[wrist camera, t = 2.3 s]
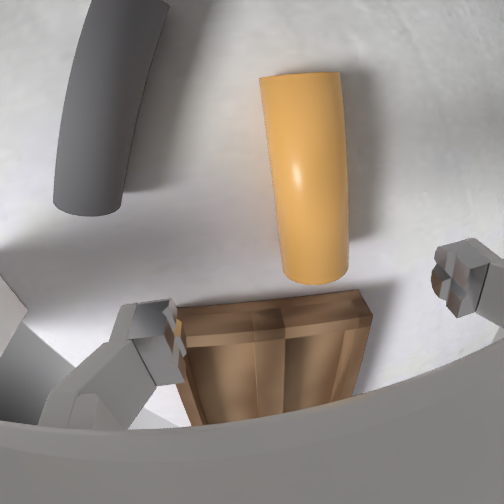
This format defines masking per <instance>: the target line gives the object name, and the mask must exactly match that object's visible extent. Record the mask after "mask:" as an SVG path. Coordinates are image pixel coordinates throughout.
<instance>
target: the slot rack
mask: <svg viewBox="0 0 504 504" xmlns="http://www.w3.org/2000/svg"><path fill="white" fill-rule="evenodd" d="M372 318H373V314H372V313H371V311H370V309H369V307H368V306H367V304H366V302H365V300H364V299H363V297H362V295H361V294H360V292H359V290H351V291H344V292H336V293H328V294H320V295H311V296H302V297H293V298H284V299H275V300H265V301H255V302H244V303H233V304H222V305H210V306H197V307H183V308H177V319H178V320H179V321H181V322H182V324H183V327H184V331H185V335H186V342H187V353H186V355H185V356H184V357H183V359H184V361H185V363H186V374H185V383H178V384H176V386H177V389H178V392H179V395H180V397H181V400H182V402H183V405H184V408H185V410H186V413H187V415H188V418H189V420H190V423H191V425H192V426H200V425H210V424H219V423H226V422H234V421H241V420H247V419H254V418H260V417H266V416H271V415H277V414H282V413H287V412H292V411H296V410H301V409H306V408H310V407H314V406H319V405H323V404H327V403H331V402H335V401H338V400H342V399H346V398H350V397H351V396H352V393H353V390H354V386H355V383H356V379H357V376H358V373H359V369H360V365H361V362H362V358H363V354H364V351H365V347H366V343H367V339H368V335H369V331H370V326H371V322H372Z"/></svg>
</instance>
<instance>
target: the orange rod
mask: <svg viewBox="0 0 504 504" xmlns="http://www.w3.org/2000/svg"><path fill="white" fill-rule="evenodd" d="M259 83H260V90H261V97H262V104H263V111H264V118H265V126H266V133H267V141H268V148H269V156H270V164H271V172H272V180H273V188H274V196H275V205H276V213H277V222H278V231H279V240H280V249H281V258H282V267H283V272H284V274H285V275H286V276H287V277H288V278H289V279H291V280H293V281H295V282H297V283H301V284H306V285H322V284H327V283H331V282H333V281H336V280H338V279H339V278H341V277H342V276H343V275H344V274H345V273H346V272H347V270H348V260H349V198H348V167H347V147H346V131H345V117H344V105H343V94H342V84H341V75H340V72H316V73H300V74H288V75H278V76H270V77H262V78H259Z"/></svg>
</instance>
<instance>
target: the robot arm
mask: <svg viewBox="0 0 504 504" xmlns="http://www.w3.org/2000/svg"><path fill="white" fill-rule="evenodd" d="M434 259H435V261H436V263H437V264H436V266H435V267H434V269H433V270H432V276H431V283H432V288H433V290H434V292H435V294H436V295H437V296H438V297H439V298H441V299H443V300H446V306H447V307H448V309H449V310H450V311H451V312H452V313H453V314H454V315H455V317H456V318H459V317H462V316H465V315H468V314H471V313H474V312H476V313H477V314H479V315H480V316H482V317H484V318H486V319H488V320H489V321H491V322H493V323H495V324H496V325H498V326H500V327H502V328H504V259H501V258H500V257H499V256H498V255H496V254H495V253H494V252H493V251H491V250H490V249H489V248H487V247H486V246H485V245H483V244H482V243H481V242H479V241H478V240H477V239H475V238H468V239H465V240H461V241H459V242H455V243H451V244H447V245H443V246H439V247H437V249H436V251H435V257H434ZM186 353H187V342H186V335H185V331H184V327H183V324H182V322H181V321H179V320H178V319H177V308H176V305H175V302H174V300H173V299H172V298H169V299H162V300H154V301H147V302H140V303H132V304H126V305H123V306H121V307H120V310H119V313H118V316H117V318H116V321H115V324H114V327H113V330H112V333H111V336H110V339H109V342H106V343H103V344H102V345H101V346H100V347H99V348H98V349H96V350H95V351H94V352H93V353H92V354H91V355H90V356H89V357H88V358H86V359H85V360H84V361H83V362H82V363H81V364H80V365H79V366H78V367H76V368H75V369H74V370H73V371H72V372H71V373H70V374H69V375H68V376H67V377H66V378H65V379H63V380H62V381H61V382H60V383H59V384H58V385H57V386H56V387H55V388H53V389H52V390H51V391H50V392H49V395H48V397H47V400H46V403H45V406H44V408H43V411H42V414H41V417H40V420H39V423H38V426H36V425H27V424H19V423H13V422H6V421H0V504H504V338H502V339H500V340H498V341H497V342H494V343H492V344H490V345H488V346H486V347H484V348H482V349H480V350H478V351H476V352H473V353H471V354H469V355H467V356H465V357H462V358H460V359H458V360H455V361H453V362H451V363H448V364H446V365H443V366H441V367H439V368H436V369H433V370H431V371H428V372H426V373H423V374H420V375H418V376H415V377H412V378H410V379H407V380H404V381H401V382H398V383H395V384H392V385H389V386H386V387H383V388H380V389H377V390H373V391H370V392H367V393H364V394H360V395H357V396H353V397H350V398H346V399H342V400H338V401H335V402H331V403H327V404H323V405H319V406H314V407H310V408H306V409H301V410H296V411H292V412H287V413H282V414H277V415H271V416H266V417H260V418H254V419H247V420H241V421H234V422H226V423H219V424H210V425H200V426H190V427H178V428H163V429H139V430H127V429H128V428H129V426H130V425H131V424H132V422H133V421H134V419H135V418H136V417H137V415H138V414H139V412H140V410H141V409H142V408H143V407H144V405H145V404H146V402H147V401H148V399H149V398H150V397H151V395H152V394H153V392H154V391H155V389H156V388H157V387H156V386H162V385H170V384H178V383H185V374H186V363H185V361H184V359H183V357H184V356H185V355H186Z"/></svg>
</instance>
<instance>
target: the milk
mask: <svg viewBox="0 0 504 504" xmlns="http://www.w3.org/2000/svg"><path fill="white" fill-rule="evenodd" d="M27 311H28V310H27V308H26V307H25V306H24V305H23V304H22V302H21V301H20V300H19V299H18V297H17V296H16V295H15V294H14V293H13V291H12V290H11V289H10V288H9V286H8V285H7V284H6V282H5V281H4V280H3V279H2V277H1V276H0V357H1V355H2V353H3V352H4V350H5V348H6V346H7V344H8V343H9V341H10V339H11V338H12V336H13V334H14V333H15V331H16V329H17V328H18V326H19V324H20V322H21V321H22V319H23V318H24V316H25V315H26V313H27Z"/></svg>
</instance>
